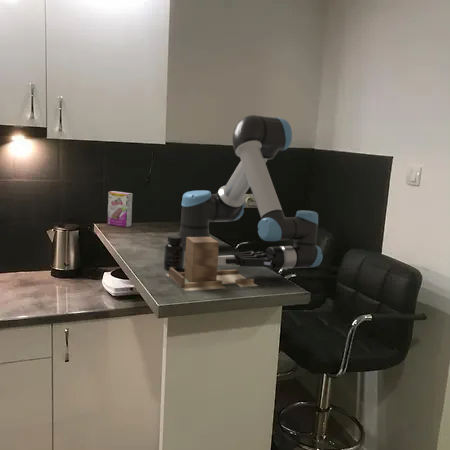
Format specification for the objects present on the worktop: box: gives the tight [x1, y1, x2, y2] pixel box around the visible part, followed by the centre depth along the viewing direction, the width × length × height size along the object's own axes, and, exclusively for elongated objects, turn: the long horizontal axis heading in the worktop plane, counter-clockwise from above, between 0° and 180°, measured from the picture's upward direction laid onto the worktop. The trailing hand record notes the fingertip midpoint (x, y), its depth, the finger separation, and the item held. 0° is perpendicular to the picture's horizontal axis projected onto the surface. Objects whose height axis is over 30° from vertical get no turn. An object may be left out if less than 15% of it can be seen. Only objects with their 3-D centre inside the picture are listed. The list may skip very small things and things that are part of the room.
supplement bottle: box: [163, 234, 186, 272], centre depth 167 cm, size 7×7×12 cm
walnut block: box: [184, 236, 220, 282], centre depth 155 cm, size 8×8×13 cm
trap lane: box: [165, 267, 259, 294], centre depth 157 cm, size 24×18×4 cm
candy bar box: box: [106, 190, 134, 228], centre depth 242 cm, size 11×5×16 cm, turn 69°
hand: (215, 260), depth 156 cm, fingers closed
